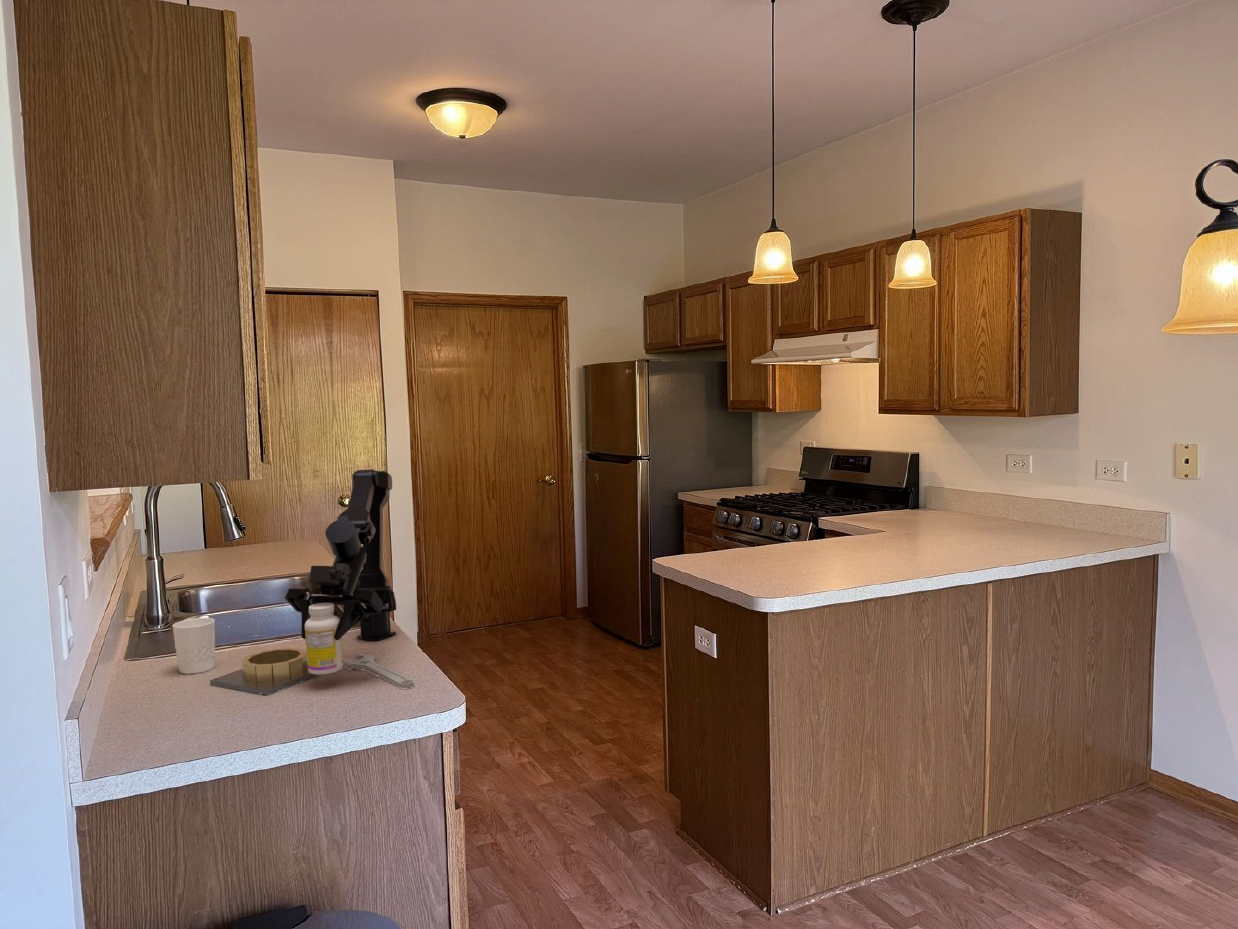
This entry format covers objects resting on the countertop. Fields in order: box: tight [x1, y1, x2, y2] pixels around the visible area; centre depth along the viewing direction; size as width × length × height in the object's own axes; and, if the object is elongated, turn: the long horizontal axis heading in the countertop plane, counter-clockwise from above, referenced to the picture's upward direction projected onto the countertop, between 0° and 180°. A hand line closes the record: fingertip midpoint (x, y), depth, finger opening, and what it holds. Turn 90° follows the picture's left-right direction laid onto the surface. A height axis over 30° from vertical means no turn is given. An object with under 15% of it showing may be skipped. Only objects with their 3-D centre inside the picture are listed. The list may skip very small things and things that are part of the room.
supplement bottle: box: [305, 603, 344, 675], centre depth 167 cm, size 7×7×13 cm
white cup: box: [172, 617, 216, 675], centre depth 180 cm, size 8×8×10 cm
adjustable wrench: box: [343, 653, 415, 689], centre depth 172 cm, size 25×6×2 cm, turn 37°
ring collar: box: [209, 647, 320, 696], centre depth 173 cm, size 18×16×4 cm
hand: (319, 638), depth 165 cm, fingers closed on supplement bottle, 7 cm apart
